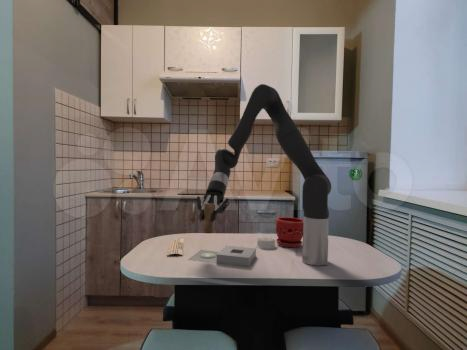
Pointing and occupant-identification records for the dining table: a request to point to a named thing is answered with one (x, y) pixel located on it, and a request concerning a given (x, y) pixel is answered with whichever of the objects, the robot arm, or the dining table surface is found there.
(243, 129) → the robot arm
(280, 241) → the plant pot
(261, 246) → the mechanical component
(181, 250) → the newspaper
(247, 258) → the socket board
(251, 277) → the dining table surface
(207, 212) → the walnut plug
